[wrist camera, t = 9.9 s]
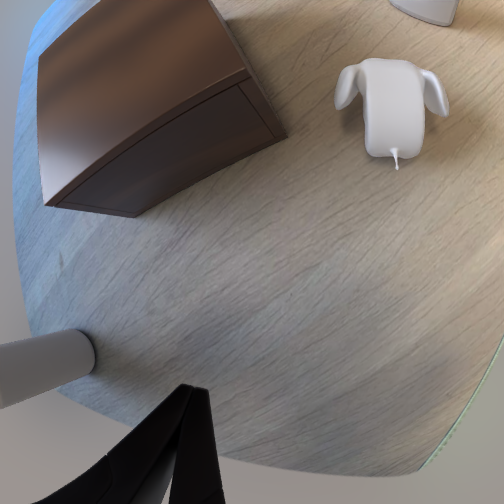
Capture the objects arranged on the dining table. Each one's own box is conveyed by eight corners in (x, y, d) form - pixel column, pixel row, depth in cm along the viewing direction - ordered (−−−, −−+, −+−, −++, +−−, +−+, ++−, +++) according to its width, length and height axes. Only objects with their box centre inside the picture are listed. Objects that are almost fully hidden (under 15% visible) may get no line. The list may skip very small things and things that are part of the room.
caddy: (104, 96, 26) (44, 64, 18) (224, 20, 22) (182, -40, 14) (132, 218, 24) (53, 207, 16) (288, 137, 20) (252, 76, 12)
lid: (44, 60, 18) (38, 56, 17) (180, -43, 14) (176, -49, 13) (53, 207, 16) (43, 206, 15) (252, 76, 12) (247, 67, 12)
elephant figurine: (425, 81, 17) (442, 34, 12) (437, 187, 18) (468, 164, 12) (334, 76, 19) (327, 26, 14) (337, 181, 19) (333, 154, 14)
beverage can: (61, 330, 27) (-36, 352, 16) (88, 323, 26) (-21, 348, 14) (75, 375, 27) (-17, 409, 15) (104, 372, 25) (2, 414, 14)
